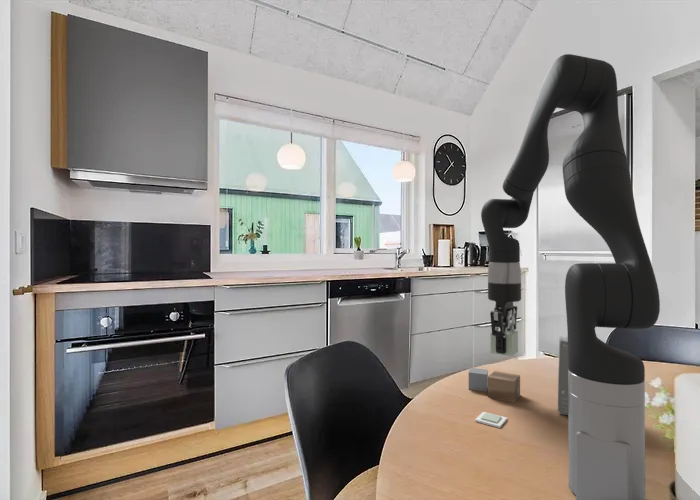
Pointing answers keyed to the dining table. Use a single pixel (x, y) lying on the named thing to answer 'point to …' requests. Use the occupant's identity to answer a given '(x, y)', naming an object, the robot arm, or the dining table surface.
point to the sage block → (507, 343)
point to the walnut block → (504, 386)
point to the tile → (491, 419)
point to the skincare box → (563, 376)
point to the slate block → (478, 379)
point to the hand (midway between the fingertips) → (504, 350)
